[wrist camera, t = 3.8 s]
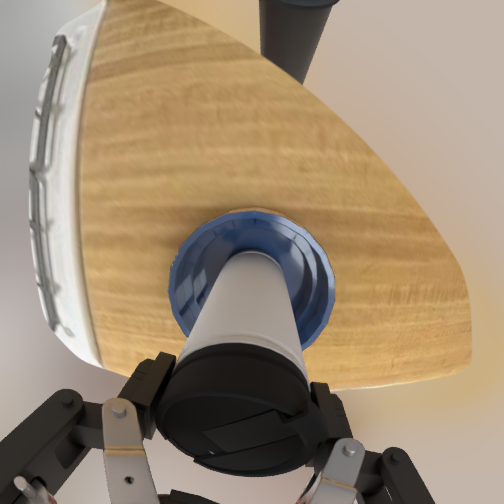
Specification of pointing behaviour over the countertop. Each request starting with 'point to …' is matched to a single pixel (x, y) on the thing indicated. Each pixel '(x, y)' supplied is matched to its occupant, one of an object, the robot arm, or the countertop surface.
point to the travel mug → (243, 378)
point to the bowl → (262, 238)
